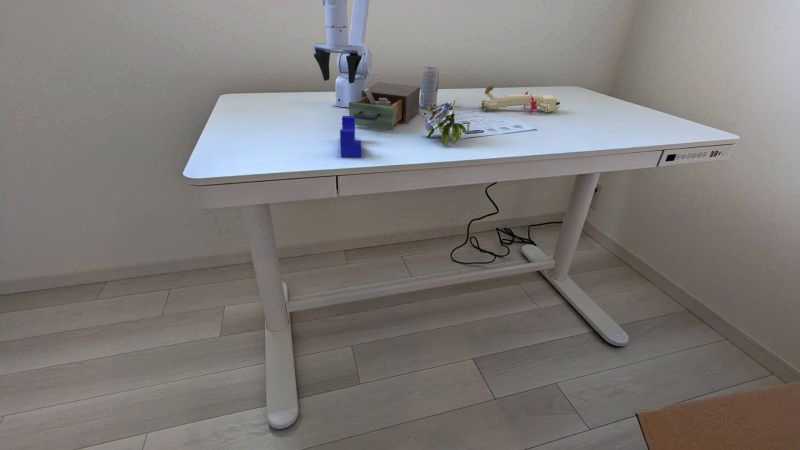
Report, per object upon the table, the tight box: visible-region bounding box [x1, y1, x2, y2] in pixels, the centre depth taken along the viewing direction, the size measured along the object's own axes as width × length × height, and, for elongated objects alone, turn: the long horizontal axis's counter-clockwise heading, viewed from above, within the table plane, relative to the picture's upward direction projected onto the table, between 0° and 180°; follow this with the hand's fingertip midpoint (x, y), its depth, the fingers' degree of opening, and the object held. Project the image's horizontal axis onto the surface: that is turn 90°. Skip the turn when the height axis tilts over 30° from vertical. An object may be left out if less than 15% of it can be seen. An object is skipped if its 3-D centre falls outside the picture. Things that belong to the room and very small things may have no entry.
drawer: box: [348, 95, 404, 131], centre depth 107 cm, size 17×12×6 cm
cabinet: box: [362, 82, 421, 124], centre depth 117 cm, size 14×14×8 cm
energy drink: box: [419, 66, 440, 110], centre depth 126 cm, size 5×5×12 cm
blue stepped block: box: [339, 115, 362, 158], centre depth 92 cm, size 12×4×6 cm, turn 5°
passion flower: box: [423, 99, 471, 147], centre depth 100 cm, size 11×11×12 cm
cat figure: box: [481, 84, 561, 114], centre depth 127 cm, size 10×9×25 cm
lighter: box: [364, 87, 390, 107], centre depth 107 cm, size 7×2×8 cm, turn 98°
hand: (339, 81), depth 109 cm, fingers open, 7 cm apart
